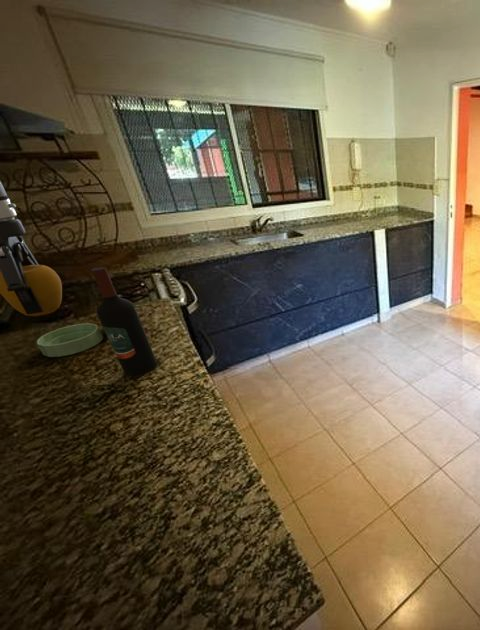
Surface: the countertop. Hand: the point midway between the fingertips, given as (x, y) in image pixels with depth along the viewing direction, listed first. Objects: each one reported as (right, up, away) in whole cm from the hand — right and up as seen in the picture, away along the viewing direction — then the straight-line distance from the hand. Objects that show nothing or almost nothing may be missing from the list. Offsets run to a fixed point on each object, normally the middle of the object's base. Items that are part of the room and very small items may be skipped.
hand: (40, 304), depth 90 cm
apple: (0, -2, +1) cm, 2 cm away
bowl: (-10, -13, +19) cm, 24 cm away
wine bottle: (+21, -18, +7) cm, 29 cm away
